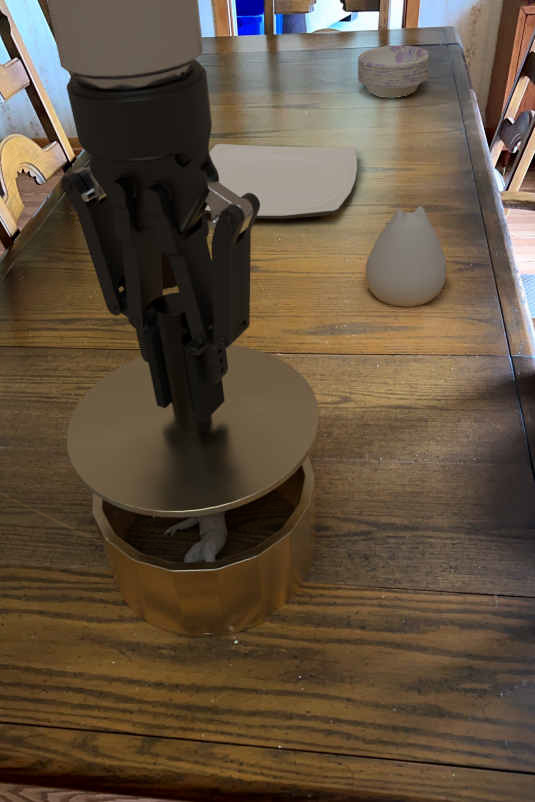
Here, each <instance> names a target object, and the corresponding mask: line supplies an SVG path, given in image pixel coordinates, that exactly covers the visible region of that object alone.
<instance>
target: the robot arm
mask: <svg viewBox="0 0 535 802" xmlns="http://www.w3.org/2000/svg"><path fill="white" fill-rule="evenodd" d="M46 3H47V8H48V11H49V17H50V21H51V26H52V31H53V34H54V40H55V44H56V49H57V54H58V59H59V64H60V67H61V68H62V69H64V70H65V71H66V72H68V73H69V74H71V77H69V81H68V82H67V84H66V92H67V95H68V99H69V100H68V101H69V104H70V109H71V113H72V117H73V123H74V127H75V130H76V135H77V136H76V137H77V139H78V143H79V145H80V147H81V148H82V149H83V150H84V151H85V152H86V153H87V154H89V158H88V163H87V164H84V165H83V166H81V167H79V168H78V169H76V170H74V171H72V172H70V173H68V174H66V175H64V176H63V177H62V178H61V179H60V186H61V187H62V190H63V191H64V194H65V195H66V197H67V198H68V200H69V202H70V204H71V206H72V207H73V209H74V211H75V212H76V214H77V218H78V220H79V223H80V227H81V230H82V233H83V237H84V240H85V242H86V245H87V249H88V252H89V255H90V259H91V262H92V264H93V268H94V271H95V274H96V278H97V280H98V283H99V287H100V291H101V293H102V296H103V299H104V303H105V305H106V308H107V310H108V311H109V312H110V314H112V315H113V316H115V317H116V316H120V315H123V316H124V317H126V318H128V322H129V324H130V325H131V327H132V328H134V330H135V332H136V336H137V342H138V346H139V352H140V355H141V357H143V359H144V361H145V362H148V364H149V368H150V373H151V378H152V383H153V388H154V393H155V398H156V402H157V406H160V407H163V408H166V407H167V406H168V405H169V404H170V403H171V397H170V392H169V387H168V381H167V376H166V371H165V366H164V360H163V355H162V350H161V344H160V339H159V334H158V329H157V323H156V318H155V313H154V307H153V305H154V302H155V301H156V300H157V299H158V298H159V297H161V296H163V295H164V289H163V282H162V261H161V251H162V252H163V253H164V254H167V255H168V256H169V258H170V262H171V265H172V269H173V272H174V276H175V280H176V283H177V286H176V287H177V290H178V292H179V294H180V297H181V301H182V304H183V308H184V311H185V315H186V318H187V322H188V326H189V329H190V333H191V336H192V339H191V340H190V341H189V342H188V343H187V344H186V345H185V346H184V351H185V357H186V363H187V369H188V375H189V381H190V387H191V394H192V400H193V406H194V412H195V418H196V420H199V421H201V422H205V421H206V420H207V419H208V418H209V417H210V416H211V415H212V414H213V413H214V412H215V411H216V410H217V409H218V408H219V406H220V405H221V404H222V403H223V402H224V401H225V400H224V392H223V384H222V377H223V376H224V375H225V374H226V373H227V370H228V362H227V353H226V348H228V347H229V346H230V345H233V343H235V342H236V340H237V339H239V338H240V337H241V336H242V334H244V332H246V330H247V329H248V328H249V327H250V324H251V254H252V253H251V249H252V248H251V246H252V245H251V243H252V230H253V229H252V228H253V226H254V223H255V221H256V220H257V219H256V216H257V214H258V211H259V209H260V202H259V199H258V198H257V197H256V196H255V195H254V194H252V193H246V194H244V195H243V196H242V197H239V196H238V195H236V194H235V193H233V192H232V191H230V190H229V189H228V188H226V187H225V186H223V185H222V184H220V183H219V175H218V172H217V169H216V167H215V166H214V164H213V162H212V159H211V157H210V154H209V152H210V141H211V140H210V139H211V134H212V127H213V124H212V123H213V122H212V112H211V104H210V94H209V85H208V77H207V76H208V75H207V70H206V69H205V68H204V66H202V64H201V63H200V62H199V61H197V60H198V58H199V57H201V55H202V53H203V51H204V42H203V35H202V34H203V33H202V25H201V17H200V16H201V15H200V7H199V6H200V5H199V0H46ZM207 205H208V206H209V207H210V209H211V214H210V220H208V218H207V213H205V209H206V207H207ZM210 229H211V230H213V233H212V238H211V252H210V248H209V244H208V236H209V234H210ZM120 288H122V290H121V291H120Z"/></svg>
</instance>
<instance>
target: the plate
mask: <svg viewBox="0 0 535 802" xmlns="http://www.w3.org/2000/svg"><path fill="white" fill-rule="evenodd" d="M209 154H210V157H211V159H212V162H213V164H214V166H215V167H216V169H217V172H218V175H219V183H220V184H222V185H223V186H225V187H226V188H228V189H229V190H230V191H232V192H233V193H235V194H236V195H238V196H239V197H242V196H243V195H244V194H246V193H252V194H254V195H255V196H256V197H257V198H258V199H259V202H260V209H259V211H258V214H257V216H256V219H255V220H257V219H260V220H264V219H266V220H272V219H273V220H289V219H301V218H315V217H324V216H325V217H326V216H331V215H334V214H335V213H337V212H339V210H341V208H342V206H343V205H344V204H345V203H346V201H347V199H348V198H349V197H350V196H351V194H352V192H353V189H354V186H355V184H356V182H357V181H356V180H357V175H358V174H357V173H358V161H357V160H358V158H357V147H356V146H281V145H279V146H278V145H277V146H276V145H273V146H272V145H251V144H250V145H249V144H248V145H247V144H231V143H230V144H229V143H217V144H215V145H214V146H213V148H212V149H211V150H209ZM205 213H206V215H211V209H210V207H209V206H208V205H207V207H206V209H205Z"/></svg>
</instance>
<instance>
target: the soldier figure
mask: <svg viewBox="0 0 535 802" xmlns="http://www.w3.org/2000/svg"><path fill="white" fill-rule="evenodd" d="M226 512H227V510H226V511H222V512H219V513H213V514H208V515H203V516H193V517H188V519H185V520H183V521H180V522H178V523H177V524H174V525H172V526H170V527H168V528H167V529H166V530H165V532H164V534H163V535H164V536H166V535H168V534H170V533H171V535H170V537H173V536H174V534H175V533H176V532H177V531H183V530H186V529H190V528H192V527H195V526H196V525H199V537H200V538H201V539H200V541H198V542H195V543H194V544H193V545H192V546H191V547H190V548H189V550H188V551H187V552H186V553H185V555H184V559H183V562H203V561H204V562H214V561H217V560H216V556H217V555H218V554H219V553H220V551H222V550H223V549H224V546H225V544H226V540H227V538H228V528H227V525H226V518H225V515H226Z"/></svg>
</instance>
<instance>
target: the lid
mask: <svg viewBox="0 0 535 802" xmlns="http://www.w3.org/2000/svg"><path fill="white" fill-rule="evenodd" d="M153 307H154V313H155V318H156V323H157V329H158V334H159V339H160V344H161V350H162V355H163V360H164V366H165V371H166V376H167V381H168V387H169V392H170V397H171V403H170V404H169V405H168V406H167V407H166V408H163V407H160V406H157V402H156V398H155V393H154V388H153V383H152V378H151V373H150V368H149V364H148V362H145V361H144V359H143V357H142V356H139V357H137V358H134V359H132V360H130V361H128V362H126V363H124V364H122V365H120V366H119V367H116V368H115V369H114V370H112V371H110V372H109V373H107V374H106V375H105V376H103V377H102V378H100V379H99V381H97V382H96V383H94V385H92V386H91V388H90V389H88V390H87V392H86V393H85V394H84V395H83V396H82V397H81V399H80V400H79V402H78V404H76V407H75V408H74V410H73V412H72V414H71V416H70V418H69V421H68V426H67V430H66V440H65V441H66V442H65V444H66V450H67V455H68V456H67V457H68V459H69V462H70V464H71V466H72V469H73V471H74V473H75V474H76V476H77V478H78V479H79V481H80V482H81V483H82V484H83V485H84V486H85V487H86V488H87V489H88V490H89V491H90V492H92V494H93V493H94V494H96V495H97V496H98V497H100V498H101V499H103V500H105V501H107V502H108V503H110V504H112V505H114V506H117V507H119V508H122V509H125V510H128V511H131V512H135V513H139V514H138V515H144V516H150V517H158V518H159V517H160V518H191V517H193V516H203V515H208V514H213V513H219V512H222V511H226V512H227V511H229V510H233V509H236V508H239V507H241V506H244V505H247V504H249V503H251V502H254V501H256V500H258V499H260V498H262V497H264V496H266V495H267V494H269V493H270V492H272V491H275V490H274V489H275V488H277V487H278V486H279V485H281V484H282V483H284V482H285V481H286V480H287V479H288V478H289V477H290V476H292V475H293V474H294V473H295V472H296V471H297V470H298V468H299V467H300V466H301V465H302V464H303V463H304V461H305V460H306V458H307V457H308V456H309V455H310V454H311V452H312V451H313V448H314V446H315V443H316V441H317V438H318V433H319V429H320V410H319V403H318V399H317V397H316V395H315V392H314V390H313V388H312V386H311V385H310V383H309V381H308V380H307V379H306V378H305V377H304V376H303V375H302V374H301V373H300V372H299V371H298V370H297V369H295V368H294V367H293V366H292V365H290V364H289V363H288V362H286V361H284V360H283V359H281V358H279V357H277V356H276V355H273V354H270V353H268V352H265V351H262V350H259V349H256V348H252V347H249V346H242V345H237V344H231V345H230V346H229V347H228V348H226V353H227V362H228V370H227V373H226V374H225V375H224V376H223V377H222V384H223V392H224V400H225V401H224V402H223V403H222V404H221V405H220V406H219V408H218V409H217V410H216V411H215V412H214V413H213V414H212V415H211V416H210V417H209V418H208V419H207V420H206V421H205V422H201V421H199V420H196V418H195V412H194V406H193V400H192V394H191V387H190V381H189V375H188V369H187V363H186V357H185V351H184V346H185V345H186V344H187V343H188V342H189V341H190V340H191V339H192V336H191V333H190V329H189V326H188V322H187V318H186V315H185V311H184V308H183V304H182V301H181V297H180V294H179V291H178V292H170V293H165V294H163V296H161V297H159V298H158V299H157V300H156V301H155V302H154V305H153Z"/></svg>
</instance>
